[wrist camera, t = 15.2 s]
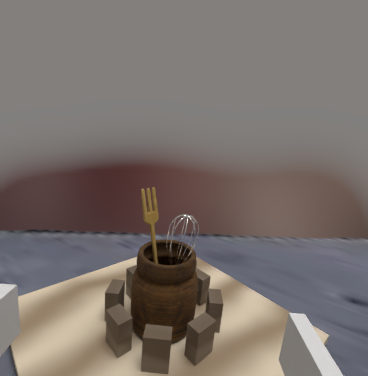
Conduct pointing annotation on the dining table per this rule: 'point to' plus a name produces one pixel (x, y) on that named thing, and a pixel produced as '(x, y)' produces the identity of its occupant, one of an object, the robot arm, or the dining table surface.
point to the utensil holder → (163, 280)
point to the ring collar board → (84, 331)
